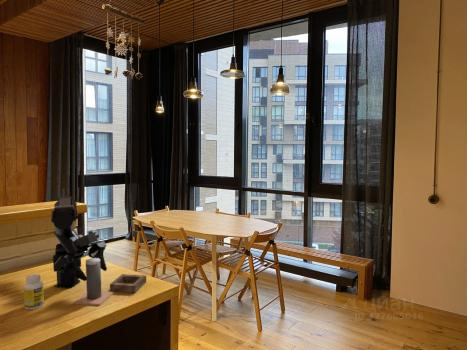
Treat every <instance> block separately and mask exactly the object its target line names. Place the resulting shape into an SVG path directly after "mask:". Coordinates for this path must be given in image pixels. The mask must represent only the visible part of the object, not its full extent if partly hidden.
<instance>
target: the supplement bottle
mask: <svg viewBox="0 0 467 350" xmlns="http://www.w3.org/2000/svg"><path fill="white" fill-rule="evenodd" d="M25 281H26V283H25V284H24V285H23V304H24V309H26V310H36V309H39V308H42V307H43V306H44V304H45V301H44V300H45V298H44V297H45V295H44V294H45V293H44V282H43V281H42V280H41V274H37V273H34V274H30V275H27V276H26V277H25Z"/></svg>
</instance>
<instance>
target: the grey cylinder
mask: <svg viewBox="0 0 467 350" xmlns="http://www.w3.org/2000/svg"><path fill="white" fill-rule="evenodd" d="M101 270H102V269H101V268H100V259H99V258H91V257H90V258H88V259H86V260H85V276H86V277H87V280H86V281H85V283H86V292H87V299H90V300H94V299H98V298H100V297H101V291H102V273H101V272H102V271H101Z"/></svg>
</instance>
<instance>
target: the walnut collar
mask: <svg viewBox="0 0 467 350" xmlns="http://www.w3.org/2000/svg"><path fill="white" fill-rule="evenodd" d="M146 283H147V275H141V274H127V273H126V274H124V273H121V275H119V276H118V277H117V278H116V279H115V280H113V281H112V282H111V283H110V284H109V292H119V293H130V294H131V293H133V294H137V292H138V291H139V290H140V289H142V287H143V286H144V285H145V284H146Z"/></svg>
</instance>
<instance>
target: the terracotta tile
mask: <svg viewBox="0 0 467 350" xmlns="http://www.w3.org/2000/svg"><path fill="white" fill-rule="evenodd" d="M114 293H115V291H104V290H101V297H100V298H98V299H94V300H90V299H87V291H86V292H84V294H82V295H81V296H80V297H78V298H77V299H76V300H74V301H73V304H75V305H87V306H98V307H100V306H102V304H104V302H106V301H108V299H109V298H111V296H113V295H114Z"/></svg>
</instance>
